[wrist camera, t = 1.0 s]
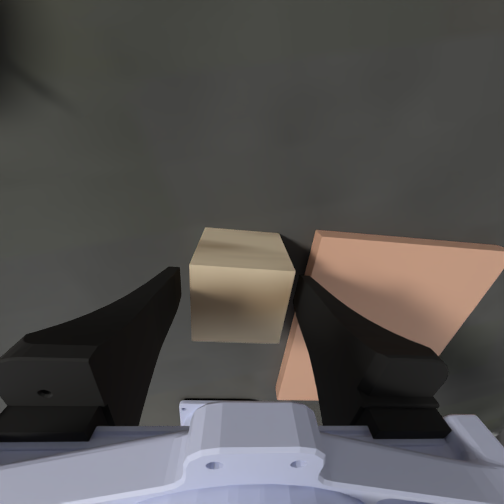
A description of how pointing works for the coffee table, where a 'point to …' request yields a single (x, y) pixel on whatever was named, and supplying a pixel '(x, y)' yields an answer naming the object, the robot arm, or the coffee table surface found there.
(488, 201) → the coffee table surface
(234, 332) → the maple cube
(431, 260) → the terracotta tile
